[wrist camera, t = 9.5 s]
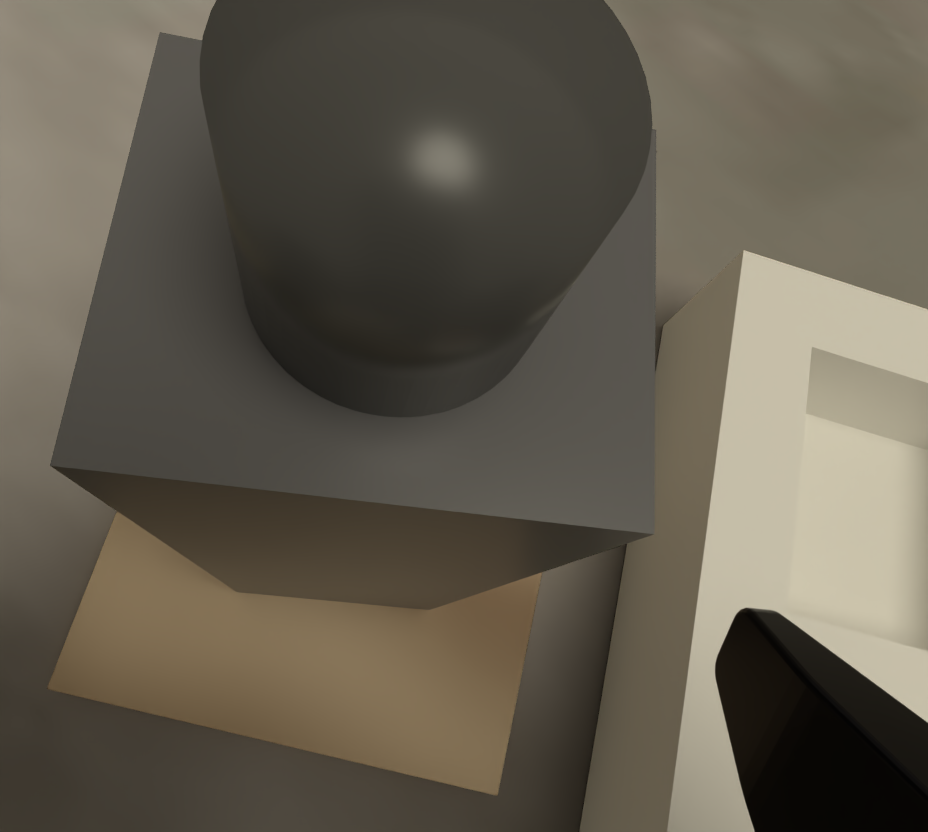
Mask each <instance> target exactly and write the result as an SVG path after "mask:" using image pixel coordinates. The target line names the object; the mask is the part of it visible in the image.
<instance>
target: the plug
mask: <svg viewBox="0 0 928 832" xmlns="http://www.w3.org/2000/svg"><path fill="white" fill-rule="evenodd" d="M655 277H656V130H654V129H652V114H651V100H650V95H649V91H648V86H647V81H646V77H645V74H644V71H643V68H642V65H641V63H640V60H639V57H638V54H637V52H636V50H635V48H634V46H633V44H632V42H631V40H630V38H629V36H628V34H627V32H626V31H625V29H624V28H623V26H622V25H621V23H620V22H619V20H618V19H617V17H616V16H615V14H614V13H613V11H612V10H611V9H610V7H609V6H608V5H607V4H606V3H605V1H604V0H217V1H216V3H215V4H214V6H213V8H212V10H211V13H210V16H209V19H208V22H207V25H206V28H205V31H204V34H203V40H197V39H192V38H187V37H181V36H176V35H171V34H166V33H161V32H160V34H159V38H158V42H157V46H156V50H155V53H154V57H153V61H152V65H151V69H150V73H149V77H148V81H147V85H146V89H145V93H144V97H143V101H142V105H141V109H140V113H139V117H138V121H137V125H136V128H135V132H134V136H133V140H132V144H131V148H130V152H129V156H128V160H127V164H126V168H125V172H124V176H123V180H122V184H121V188H120V192H119V196H118V199H117V203H116V207H115V211H114V215H113V219H112V223H111V227H110V231H109V235H108V239H107V243H106V247H105V251H104V255H103V259H102V263H101V267H100V270H99V274H98V278H97V282H96V286H95V290H94V294H93V298H92V302H91V306H90V310H89V314H88V318H87V322H86V326H85V330H84V334H83V338H82V342H81V345H80V349H79V353H78V357H77V361H76V365H75V369H74V373H73V377H72V381H71V385H70V389H69V393H68V397H67V401H66V405H65V409H64V413H63V416H62V420H61V424H60V428H59V432H58V436H57V440H56V444H55V448H54V452H53V456H52V460H51V464H50V466H51V467H53V468H54V469H56V470H57V471H59V472H60V473H62V474H63V475H65V476H66V477H68V478H69V479H71V480H72V481H73V482H75V483H76V484H78V485H79V486H81V487H82V488H84V489H85V490H87V491H88V492H90V493H91V494H93V495H94V496H96V497H97V498H99V499H100V500H102V501H103V502H104V503H106V504H107V505H109V506H110V507H112V508H113V509H115V510H116V511H118V512H119V513H121V514H122V515H124V516H125V517H127V518H128V519H130V520H131V521H133V522H134V523H135V524H137V525H138V526H140V527H141V528H143V529H144V530H146V531H147V532H149V533H150V534H152V535H153V536H155V537H156V538H158V539H159V540H161V541H162V542H163V543H165V544H166V545H168V546H169V547H171V548H172V549H174V550H175V551H177V552H178V553H180V554H181V555H183V556H184V557H186V558H187V559H189V560H190V561H192V562H193V563H194V564H196V565H197V566H199V567H200V568H202V569H203V570H205V571H206V572H208V573H209V574H211V575H212V576H214V577H215V578H217V579H218V580H220V581H221V582H223V583H224V584H225V585H227V586H228V587H230V588H231V589H233V590H234V591H236V592H241V593H252V594H263V595H273V596H284V597H295V598H305V599H316V600H327V601H337V602H348V603H359V604H369V605H380V606H391V607H401V608H412V609H423V610H431V609H434V608H437V607H440V606H443V605H446V604H449V603H452V602H455V601H458V600H461V599H464V598H467V597H470V596H473V595H476V594H479V593H482V592H485V591H488V590H491V589H494V588H497V587H500V586H503V585H506V584H509V583H511V582H514V581H517V580H520V579H523V578H526V577H529V576H532V575H535V574H538V573H541V572H544V571H547V570H550V569H553V568H556V567H559V566H562V565H565V564H568V563H571V562H574V561H577V560H580V559H583V558H586V557H589V556H592V555H594V554H597V553H600V552H603V551H606V550H609V549H612V548H615V547H618V546H621V545H624V544H627V543H630V542H633V541H636V540H639V539H642V538H645V537H648V536H651V535H654V529H655Z"/></svg>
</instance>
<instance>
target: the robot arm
mask: <svg viewBox="0 0 928 832" xmlns="http://www.w3.org/2000/svg"><path fill="white" fill-rule="evenodd" d="M715 678H716V683H717V687H718V692H719V696H720V700H721V704H722V709H723V713H724V717H725V721H726V726H727V730H728V734H729V738H730V743H731V747H732V751H733V755H734V760H735V764H736V768H737V772H738V777H739V781H740V785H741V788H742V792H743V796H744V799H745V803H746V806H747V809H748V812H749V816H750V819H751V822H752V825H753V828H754V831H755V832H928V722H926V721H925V720H924V719H922V718H921V717H920V716H918V715H917V714H916V713H914V712H913V711H912V710H910V709H909V708H907V707H906V706H905V705H903V704H902V703H901V702H899V701H898V700H897V699H895V698H894V697H893V696H891V695H890V694H888V693H887V692H886V691H884V690H883V689H882V688H880V687H879V686H878V685H876V684H875V683H874V682H872V681H871V680H870V679H868V678H867V677H865V676H864V675H863V674H861V673H860V672H859V671H857V670H856V669H855V668H853V667H852V666H851V665H849V664H848V663H846V662H845V661H844V660H842V659H841V658H840V657H838V656H837V655H836V654H834V653H833V652H832V651H830V650H829V649H827V648H826V647H825V646H823V645H822V644H821V643H819V642H818V641H817V640H815V639H814V638H813V637H811V636H810V635H809V634H807V633H806V632H804V631H803V630H802V629H800V628H799V627H798V626H796V625H795V624H794V623H792V622H791V621H790V620H788V619H787V618H785V617H784V616H783V615H781V614H780V613H778V612H776V611H773V610H767V609H757V608H743V609H741V610H740V611H739V612H737V613H736V615H735V617H734V619H733V621H732V624H731V626H730V628H729V630H728V633H727V635H726V637H725V639H724V642H723V644H722V646H721V648H720V651H719V653H718V655H717V658H716V663H715Z"/></svg>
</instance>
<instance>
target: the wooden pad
mask: <svg viewBox="0 0 928 832" xmlns="http://www.w3.org/2000/svg"><path fill="white" fill-rule="evenodd" d="M541 576H542V572H541V573H538V574H535V575H532V576H529V577H526V578H523V579H520V580H517V581H514V582H511V583H509V584H506V585H503V586H500V587H497V588H494V589H491V590H488V591H485V592H482V593H479V594H476V595H473V596H470V597H467V598H464V599H461V600H458V601H455V602H452V603H449V604H446V605H443V606H440V607H437V608H434V609H431V610H423V609H412V608H401V607H391V606H380V605H369V604H359V603H348V602H337V601H327V600H316V599H305V598H295V597H284V596H273V595H263V594H252V593H241V592H236V591H234V590H233V589H231V588H230V587H228V586H227V585H225V584H224V583H223V582H221V581H220V580H218V579H217V578H215V577H214V576H212V575H211V574H209V573H208V572H206V571H205V570H203V569H202V568H200V567H199V566H197V565H196V564H194V563H193V562H192V561H190V560H189V559H187V558H186V557H184V556H183V555H181V554H180V553H178V552H177V551H175V550H174V549H172V548H171V547H169V546H168V545H166V544H165V543H163V542H162V541H161V540H159V539H158V538H156V537H155V536H153V535H152V534H150V533H149V532H147V531H146V530H144V529H143V528H141V527H140V526H138V525H137V524H135V523H134V522H133V521H131V520H130V519H128V518H127V517H125V516H124V515H122V514H121V513H119V512H118V511H117V512H116V515H115V517H114V520H113V522H112V525H111V527H110V530H109V532H108V535H107V537H106V540H105V542H104V545H103V548H102V550H101V553H100V555H99V558H98V560H97V563H96V565H95V568H94V570H93V573H92V575H91V578H90V580H89V583H88V586H87V588H86V591H85V593H84V596H83V598H82V601H81V603H80V606H79V608H78V611H77V613H76V616H75V618H74V621H73V624H72V626H71V629H70V631H69V634H68V636H67V639H66V641H65V644H64V646H63V649H62V651H61V654H60V656H59V659H58V662H57V664H56V667H55V669H54V672H53V674H52V677H51V679H50V682H49V684H48V687H47V689H49V690H53V691H57V692H62V693H66V694H70V695H74V696H78V697H83V698H87V699H91V700H95V701H99V702H104V703H108V704H112V705H116V706H121V707H125V708H129V709H133V710H137V711H142V712H146V713H150V714H154V715H159V716H163V717H167V718H171V719H175V720H180V721H184V722H188V723H192V724H196V725H201V726H205V727H209V728H213V729H218V730H222V731H226V732H230V733H234V734H239V735H243V736H247V737H251V738H256V739H260V740H264V741H268V742H272V743H277V744H281V745H285V746H289V747H293V748H298V749H302V750H306V751H310V752H315V753H319V754H323V755H327V756H331V757H336V758H340V759H344V760H348V761H352V762H357V763H361V764H365V765H369V766H374V767H378V768H382V769H386V770H390V771H395V772H399V773H403V774H407V775H412V776H416V777H420V778H424V779H428V780H433V781H437V782H441V783H445V784H449V785H454V786H458V787H462V788H466V789H471V790H475V791H479V792H483V793H487V794H492V795H496V796H497V795H498V790H499V785H500V780H501V775H502V770H503V765H504V760H505V755H506V750H507V745H508V740H509V736H510V731H511V726H512V721H513V716H514V711H515V706H516V701H517V696H518V691H519V686H520V681H521V676H522V671H523V666H524V661H525V656H526V651H527V646H528V641H529V636H530V631H531V626H532V621H533V616H534V611H535V606H536V601H537V596H538V591H539V586H540V581H541Z"/></svg>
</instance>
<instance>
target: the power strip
mask: <svg viewBox="0 0 928 832" xmlns="http://www.w3.org/2000/svg"><path fill="white" fill-rule="evenodd" d="M743 608H757V609H767V610H773V611H776V612H778V613H780V614H781V615H783V616H784V617H785V618H787V619H788V620H790V621H791V622H792V623H794V624H795V625H796V626H798V627H799V628H800V629H802V630H803V631H804V632H806V633H807V634H809V635H810V636H811V637H813V638H814V639H815V640H817V641H818V642H819V643H821V644H822V645H823V646H825V647H826V648H827V649H829V650H830V651H832V652H833V653H834V654H836V655H837V656H838V657H840V658H841V659H842V660H844V661H845V662H846V663H848V664H849V665H851V666H852V667H853V668H855V669H856V670H857V671H859V672H860V673H861V674H863V675H864V676H865V677H867V678H868V679H870V680H871V681H872V682H874V683H875V684H876V685H878V686H879V687H880V688H882V689H883V690H884V691H886V692H887V693H888V694H890V695H891V696H893V697H894V698H895V699H897V700H898V701H899V702H901V703H902V704H903V705H905V706H906V707H907V708H909V709H910V710H912V711H913V712H914V713H916V714H917V715H918V716H920V717H921V718H922V719H924V720H925V721H926V722H928V310H927V309H924V308H921V307H918V306H915V305H912V304H909V303H906V302H903V301H900V300H896V299H893V298H890V297H887V296H884V295H881V294H878V293H875V292H872V291H869V290H865V289H862V288H859V287H856V286H853V285H850V284H847V283H844V282H841V281H838V280H834V279H831V278H828V277H825V276H822V275H819V274H816V273H813V272H810V271H807V270H803V269H800V268H797V267H794V266H791V265H788V264H785V263H782V262H779V261H776V260H772V259H769V258H766V257H763V256H760V255H757V254H754V253H751V252H748V251H745V250H743V251H742V252H741V253H740V254H739V255H738V256H737V257H736V258H735V259H734V260H733V261H732V262H731V263H729V264H728V265H727V266H726V267H725V268H724V269H723V270H722V271H721V272H720V273H719V274H718V275H717V276H716V277H714V278H713V279H712V280H711V281H710V282H709V283H708V284H707V285H706V286H705V287H704V288H703V289H702V290H701V291H700V292H698V293H697V294H696V295H695V296H694V297H693V298H692V299H691V300H690V301H689V302H688V303H687V304H686V305H685V306H683V307H682V308H681V309H680V310H679V311H678V312H677V313H676V314H675V315H674V316H673V317H672V318H671V319H670V320H668V321H667V322H666V323H665V324H664V325H663V330H662V336H661V342H660V348H659V354H658V360H657V366H656V372H655V529H654V535H651V536H648V537H645V538H642V539H639V540H636V541H633V542H630V543H627V547H626V553H625V559H624V565H623V571H622V577H621V583H620V589H619V595H618V602H617V608H616V614H615V620H614V626H613V632H612V638H611V644H610V650H609V656H608V662H607V668H606V674H605V680H604V686H603V692H602V698H601V704H600V710H599V716H598V722H597V728H596V734H595V740H594V746H593V752H592V758H591V764H590V770H589V776H588V782H587V788H586V794H585V800H584V806H583V812H582V818H581V825H580V831H579V832H755V831H754V828H753V825H752V822H751V819H750V816H749V812H748V809H747V806H746V803H745V799H744V796H743V792H742V788H741V785H740V781H739V777H738V772H737V768H736V764H735V760H734V755H733V751H732V747H731V743H730V738H729V734H728V730H727V726H726V721H725V717H724V713H723V709H722V704H721V700H720V696H719V692H718V687H717V683H716V678H715V663H716V658H717V655H718V653H719V651H720V648H721V646H722V644H723V642H724V639H725V637H726V635H727V633H728V630H729V628H730V626H731V624H732V621H733V619H734V617H735V615H736V613H737V612H739V611H740V610H741V609H743Z"/></svg>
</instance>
